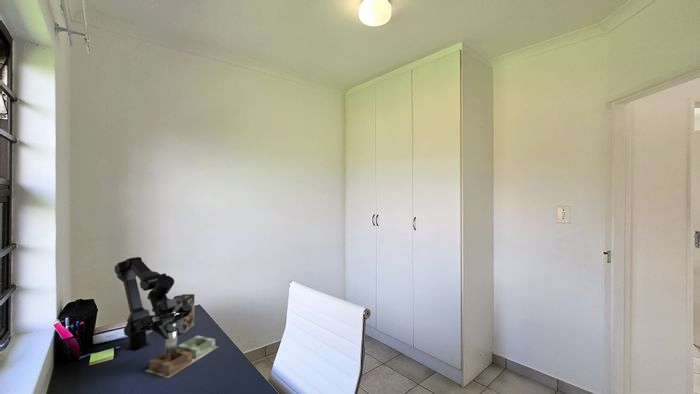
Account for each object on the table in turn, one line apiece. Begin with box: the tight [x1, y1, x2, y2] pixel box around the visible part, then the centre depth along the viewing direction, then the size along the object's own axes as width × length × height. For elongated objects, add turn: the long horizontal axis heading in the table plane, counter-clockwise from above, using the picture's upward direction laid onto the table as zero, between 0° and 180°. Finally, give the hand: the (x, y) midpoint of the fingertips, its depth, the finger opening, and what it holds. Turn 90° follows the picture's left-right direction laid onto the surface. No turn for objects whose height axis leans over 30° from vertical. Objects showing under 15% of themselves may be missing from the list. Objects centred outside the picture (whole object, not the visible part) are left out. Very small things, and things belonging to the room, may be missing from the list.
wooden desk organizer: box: [145, 335, 219, 379], centre depth 121 cm, size 12×24×4 cm, turn 160°
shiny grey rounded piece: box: [164, 321, 178, 354], centre depth 115 cm, size 4×4×11 cm
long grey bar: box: [145, 319, 172, 335], centre depth 154 cm, size 25×6×2 cm, turn 153°
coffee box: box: [171, 293, 195, 334], centre depth 149 cm, size 9×6×16 cm
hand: (173, 336), depth 114 cm, fingers closed on shiny grey rounded piece, 4 cm apart
